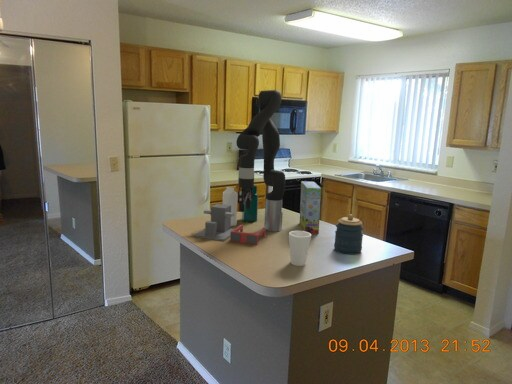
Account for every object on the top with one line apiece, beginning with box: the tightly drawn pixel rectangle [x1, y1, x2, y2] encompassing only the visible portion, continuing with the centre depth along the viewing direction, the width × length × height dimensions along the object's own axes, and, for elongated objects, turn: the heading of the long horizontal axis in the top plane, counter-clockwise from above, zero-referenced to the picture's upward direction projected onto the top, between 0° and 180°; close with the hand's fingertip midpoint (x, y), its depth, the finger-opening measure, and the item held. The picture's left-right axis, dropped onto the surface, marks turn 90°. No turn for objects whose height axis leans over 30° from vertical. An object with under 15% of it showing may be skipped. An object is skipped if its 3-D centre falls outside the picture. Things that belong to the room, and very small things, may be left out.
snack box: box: [299, 180, 322, 235], centre depth 215 cm, size 22×9×26 cm, turn 2°
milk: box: [222, 186, 238, 227], centre depth 216 cm, size 6×6×22 cm
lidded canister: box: [333, 214, 365, 255], centre depth 181 cm, size 13×13×18 cm
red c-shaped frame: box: [229, 224, 266, 246], centre depth 193 cm, size 14×14×5 cm
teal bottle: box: [241, 184, 259, 223], centre depth 228 cm, size 10×8×22 cm
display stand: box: [193, 203, 235, 242], centre depth 198 cm, size 19×17×14 cm
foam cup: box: [288, 230, 312, 267], centre depth 162 cm, size 10×9×13 cm
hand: (244, 210), depth 185 cm, fingers open, 8 cm apart
